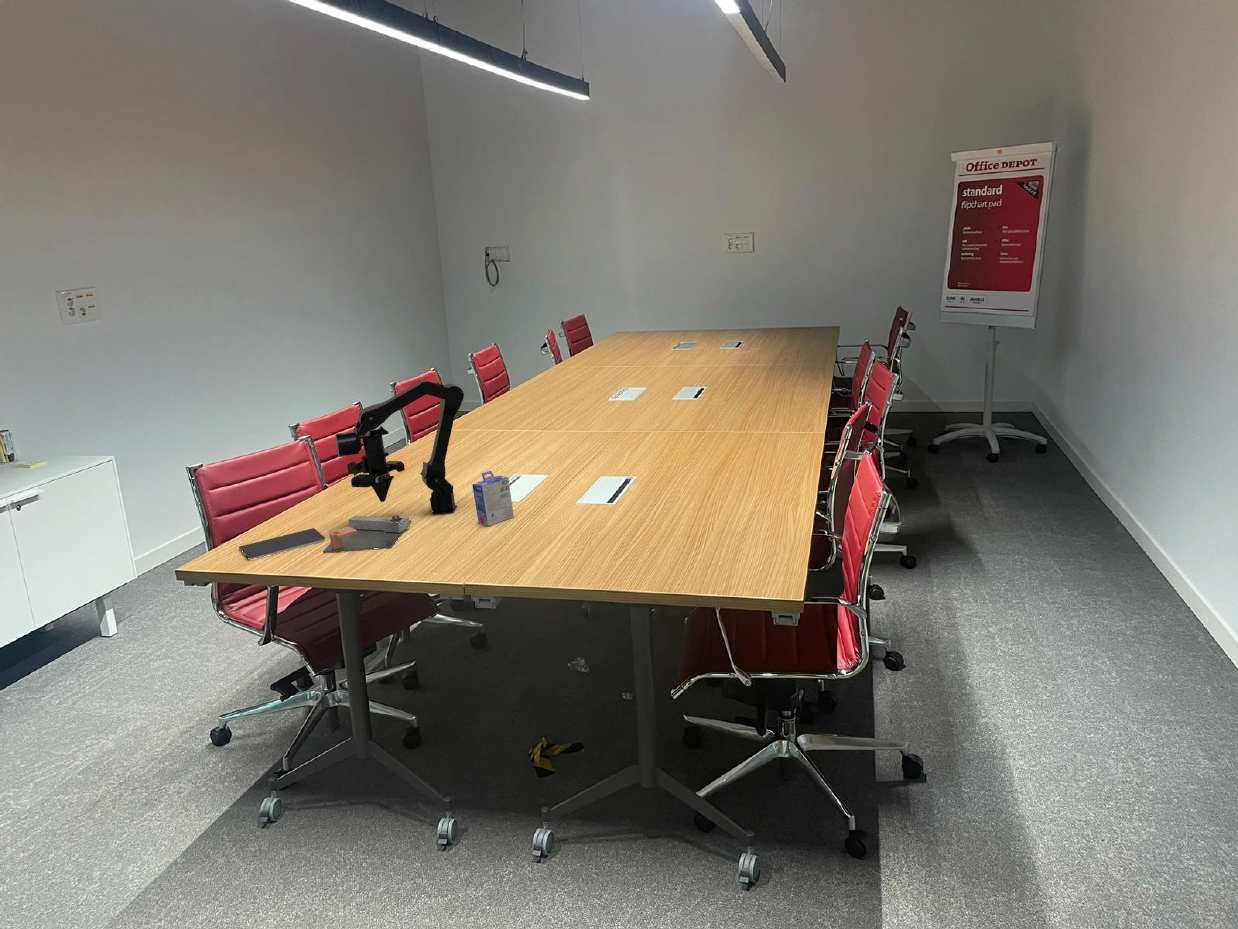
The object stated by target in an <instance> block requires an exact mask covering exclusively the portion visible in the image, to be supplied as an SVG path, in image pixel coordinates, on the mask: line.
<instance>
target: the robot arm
mask: <svg viewBox="0 0 1238 929" xmlns="http://www.w3.org/2000/svg"><path fill="white" fill-rule="evenodd" d="M426 395H428V396H432V397H435V398H438V399H439V407H440V408H439V409H440V414H439V419H438V424H437V427H436V428H437V429H436V431H435V432H436V434H435V438H434V441H433V446H432V452H431V455H430V458H429V460H428V461H427V462H426V461H423V462H422V469H421V472H419V474H420V475H421V480H422V483H424V485H425V486H426V487H427V488H428V489H429V490H431V491H432V492H431V493H430V498H429V503H430V508H431V514H432V515H442V514H443V515H445V514H452V513H453V514H454V512H455V511H456V509H457V507H458V506H457V504H456V502H455V493H454V485H453V484H451V483H450V482H449V481H448V480H447V479H446V473H447V472H446V456H447V453H448V448H449V444H450V439H451V435H452V430H453V426H454V421H455V418H456V415H457V413H458V411H459V410H460V408H461V406H462V403H463V400H464V399H465V393H464V391H463V389H462V388H461V387H459V386H457V385H456V384H453V383H446V384H442V383H437V382H433V381H429V380H427V379H421V380H420V379H419V380H418V382H417V383H415V384H413V385H411V386H410V387H408V388H406V389H405V390H402V391H401V392H399V393H397V394H395V395H394V396H391V398H389V399H387V400H385V401H382V402H380V403H376V404H372V405H370V406H367V407H364V408H362V409H361V410H359V412H358V415H357V423H356V424H355V426H354V428H353V429H352V431H347V432H339V433H337V432H336V433H335V434H334V435H335V441H336V443H335V445H336V446H335V447H336V452H337V456H338V458H342V457H343V458H344V457H347V456H353V455H359V453H360V452H361V451H362V450H363V451H364V452H363V453H364V455H362V456H361V461H360V462H355V461H351V462H349V463H347V465H346V466H347V467H346V468H347V472H348V474H350V475H353V477H352V478H351V479H350V484H351V487H352V488H370V487H372V489H373V491H374V492H375V494H376V496H377V498H378V499H379V502H380V503H384V502H386V499H387V495H388V493H389V490H390V487H391V484H392V482H393V480H394V478H395V476H394V475H391V474H390V472H393V471H396V472H398V473H402V472H404V471H405V470H406V468H405V463H403V461H401V460H388V461H387V457H388V456H389V452H387V451H386V450H385V445H384V438H383V436H385V435H388V434H390V433H389V431H388V430H387V429H386V428H384V427H383V426H382V425H383V424H384V423H385V422H386V421H387V420H388V419H389V418H390V417H391V416H392V415H393V414H395V413H396V412H398V411H400V410H402V409H403V408H405V407H407V406H409V405H410V404H412V403H414V402H415V401H417V400H420V398H423V397H424V396H426ZM361 439H362V440H361Z"/></svg>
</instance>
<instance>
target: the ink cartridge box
mask: <svg viewBox="0 0 1238 929" xmlns="http://www.w3.org/2000/svg"><path fill="white" fill-rule="evenodd" d="M486 475H490V476H486ZM481 477H482V480H481V481H478V482H475V483H472V484H471V486H472V490H473V491H472V492H473V499H474V504H475V510H476V516H477V522H478V525H479V524H480V525H483V526H486V527H489V526H492V525H495V524H498V523H500V522H502V521H506V520H509V519H512V518H514V516H515V515H514V509H513V502H512V494H511V486H510V480H509V477H507V476H503V475H494V473H493V472H492V470H489V471H486V472H482V473H481Z"/></svg>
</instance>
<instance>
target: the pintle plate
mask: <svg viewBox="0 0 1238 929" xmlns="http://www.w3.org/2000/svg"><path fill="white" fill-rule="evenodd" d="M399 517H400V515H397V514H396V515H393V516H391V518H392V521H393V522H398V521H400V519H399ZM409 522H410V525H411V524H412V522H413V521H412V520H411V519H409ZM348 526H349V524H348V525H347V526H346V527H348ZM355 530H357V532H358V533H356V534H353V535H349V536H346V537H342V541H343V548H340V549H337V550H334V549H333V548H332V546H331V542H330V544H328V546H326V548H324V549H323V551H322V552H323V554H327V553H326V552H331V553H339V551H345V552H355V550H358V551H365V550H364V549H372V550H375V549H374V548H386V549H392V548H393V546H394V545H396V543H397V542H398V541H399V539H400V538H401V536H402V535H403V534H404V533H405V532H406V530H407V529H405V530H403V531H401V532H400V533H399V532H385V531H383V530H365V529H355ZM399 537H400V538H399ZM398 538H399V539H398ZM396 541H397V542H396ZM395 542H396V543H395Z"/></svg>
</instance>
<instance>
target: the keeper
mask: <svg viewBox="0 0 1238 929" xmlns="http://www.w3.org/2000/svg"><path fill="white" fill-rule="evenodd" d="M347 526H348V525H347ZM347 526H345V527H342V528H339V529H335V530H332V531H331V530H330V531H329V540H330V543H331V546H332V548H333V549H334V550H337V549H340V548H343V541H342V537H346V536H349V535H353V534H356V533H358V532H357V530H355V529H353V528H351V527H349V526H348V527H347Z"/></svg>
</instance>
